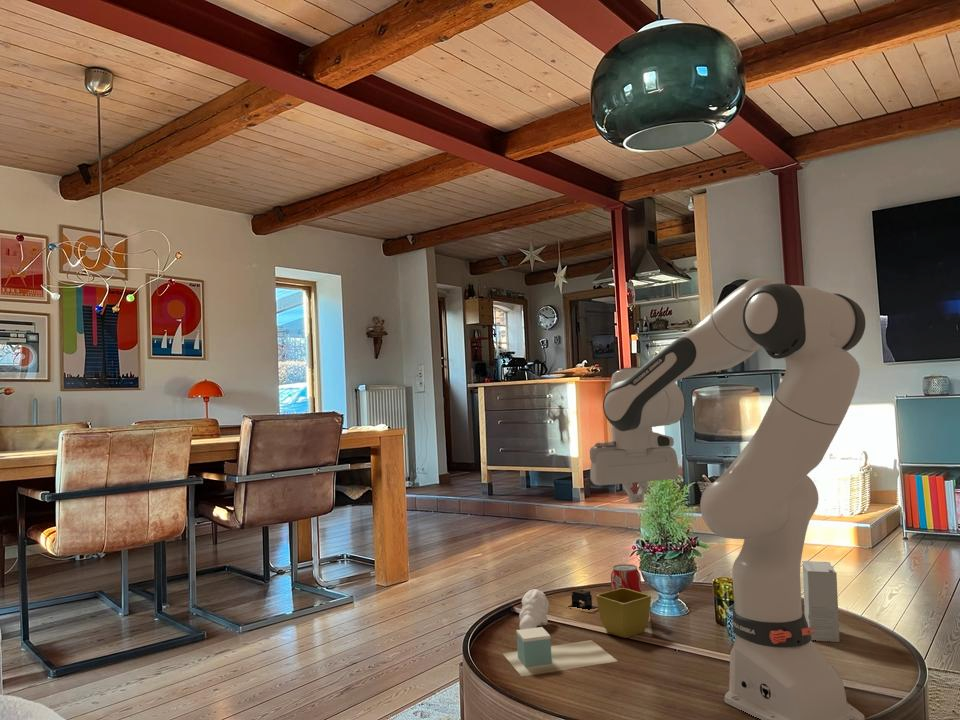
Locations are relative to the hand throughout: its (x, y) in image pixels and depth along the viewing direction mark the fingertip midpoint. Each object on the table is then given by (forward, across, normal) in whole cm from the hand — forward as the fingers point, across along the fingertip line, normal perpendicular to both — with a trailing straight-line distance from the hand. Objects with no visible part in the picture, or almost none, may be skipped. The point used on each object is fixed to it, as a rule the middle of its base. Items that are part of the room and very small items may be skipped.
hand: (636, 502), depth 159 cm
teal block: (+23, -28, -7) cm, 37 cm away
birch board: (+29, -23, -8) cm, 38 cm away
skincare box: (+29, +34, -15) cm, 47 cm away
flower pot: (+29, -4, +1) cm, 30 cm away
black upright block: (+30, -5, +24) cm, 39 cm away
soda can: (+29, +2, +12) cm, 32 cm away
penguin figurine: (+29, -22, +12) cm, 39 cm away
